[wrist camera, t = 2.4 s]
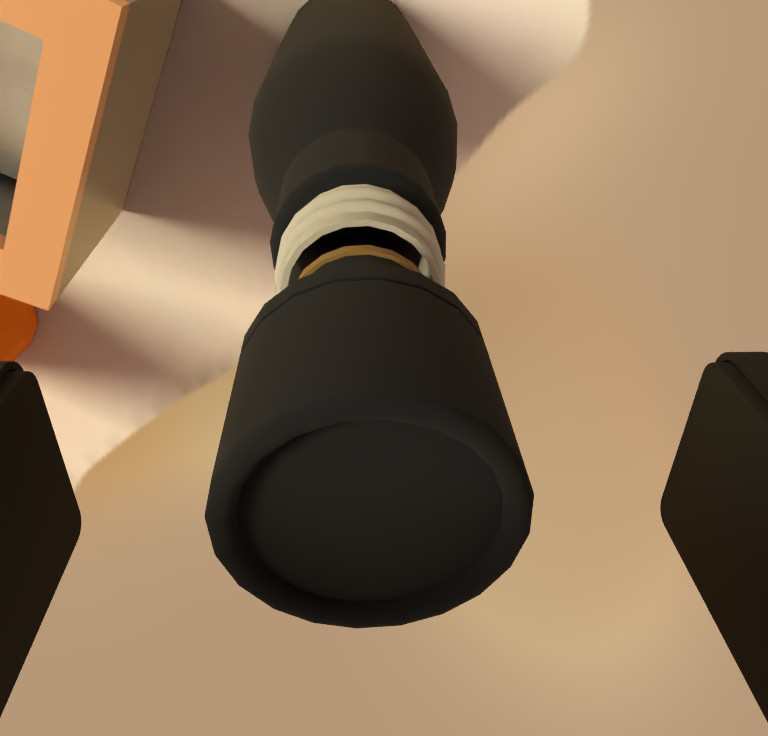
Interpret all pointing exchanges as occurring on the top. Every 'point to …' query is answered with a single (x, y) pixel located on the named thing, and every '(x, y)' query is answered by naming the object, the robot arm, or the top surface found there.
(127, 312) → the top surface
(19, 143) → the plunger plate
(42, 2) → the sleeve
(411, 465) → the black water bottle
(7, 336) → the spray bottle
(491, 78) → the top surface
